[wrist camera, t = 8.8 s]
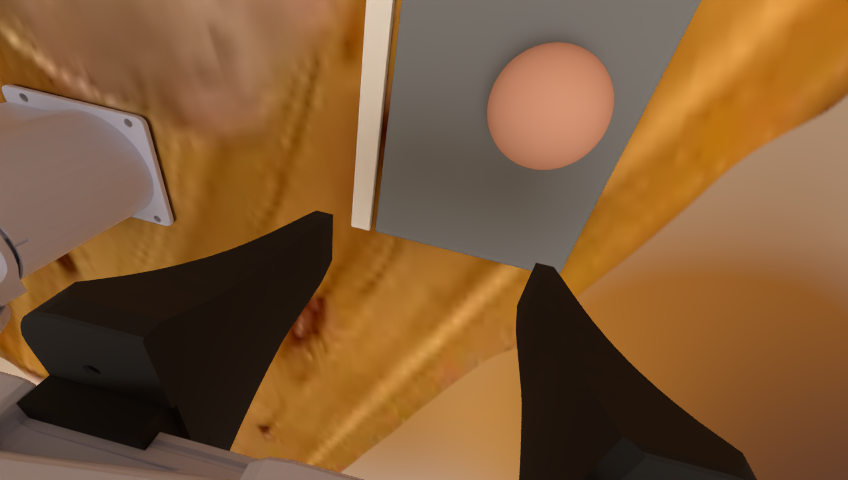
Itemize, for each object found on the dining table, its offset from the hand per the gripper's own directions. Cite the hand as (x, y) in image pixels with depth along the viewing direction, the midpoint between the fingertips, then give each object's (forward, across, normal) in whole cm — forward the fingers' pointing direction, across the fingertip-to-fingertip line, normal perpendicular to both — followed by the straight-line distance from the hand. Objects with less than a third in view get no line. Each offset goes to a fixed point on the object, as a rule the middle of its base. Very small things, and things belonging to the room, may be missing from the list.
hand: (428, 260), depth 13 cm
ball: (+6, -3, -4) cm, 8 cm away
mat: (+9, -1, -4) cm, 10 cm away
